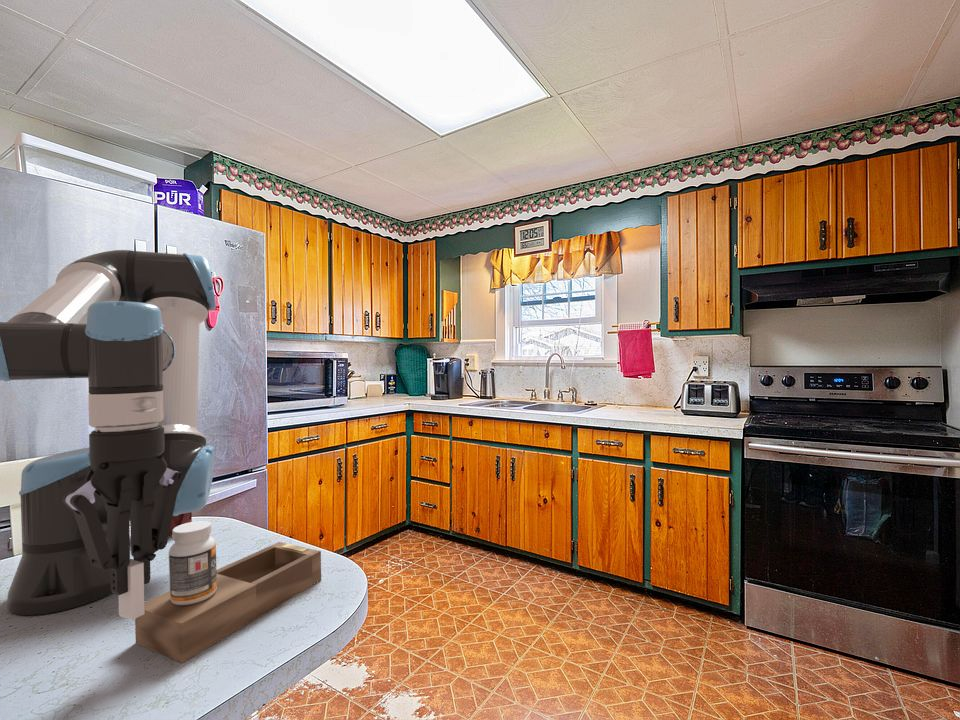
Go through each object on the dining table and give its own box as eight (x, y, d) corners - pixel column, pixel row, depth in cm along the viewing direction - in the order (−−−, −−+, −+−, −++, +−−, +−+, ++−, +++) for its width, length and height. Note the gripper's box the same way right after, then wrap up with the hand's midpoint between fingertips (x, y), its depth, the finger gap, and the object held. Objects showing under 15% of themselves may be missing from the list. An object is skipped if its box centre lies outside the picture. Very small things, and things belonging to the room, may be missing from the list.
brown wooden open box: (135, 643, 64) (134, 604, 64) (279, 569, 86) (279, 540, 85) (182, 662, 60) (181, 622, 59) (321, 579, 81) (320, 549, 81)
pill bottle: (224, 594, 67) (222, 524, 67) (178, 612, 62) (177, 537, 62) (207, 582, 70) (206, 516, 70) (163, 598, 66) (161, 527, 66)
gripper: (81, 436, 51) (86, 652, 51) (198, 421, 63) (201, 596, 63) (46, 432, 54) (51, 635, 55) (163, 418, 66) (166, 585, 66)
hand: (131, 614), depth 59 cm, fingers closed
